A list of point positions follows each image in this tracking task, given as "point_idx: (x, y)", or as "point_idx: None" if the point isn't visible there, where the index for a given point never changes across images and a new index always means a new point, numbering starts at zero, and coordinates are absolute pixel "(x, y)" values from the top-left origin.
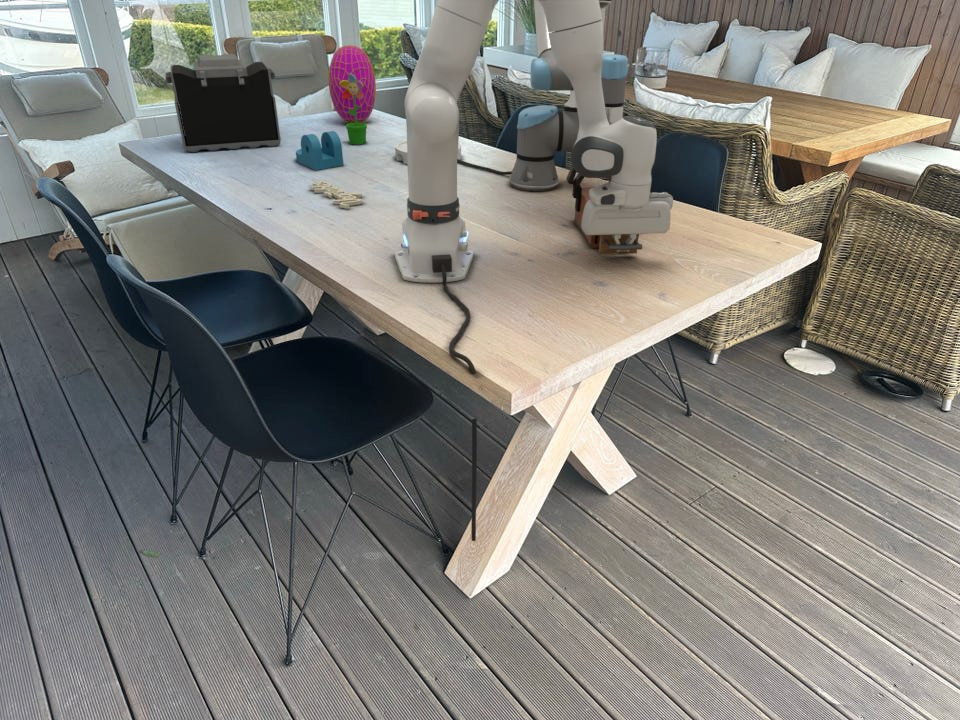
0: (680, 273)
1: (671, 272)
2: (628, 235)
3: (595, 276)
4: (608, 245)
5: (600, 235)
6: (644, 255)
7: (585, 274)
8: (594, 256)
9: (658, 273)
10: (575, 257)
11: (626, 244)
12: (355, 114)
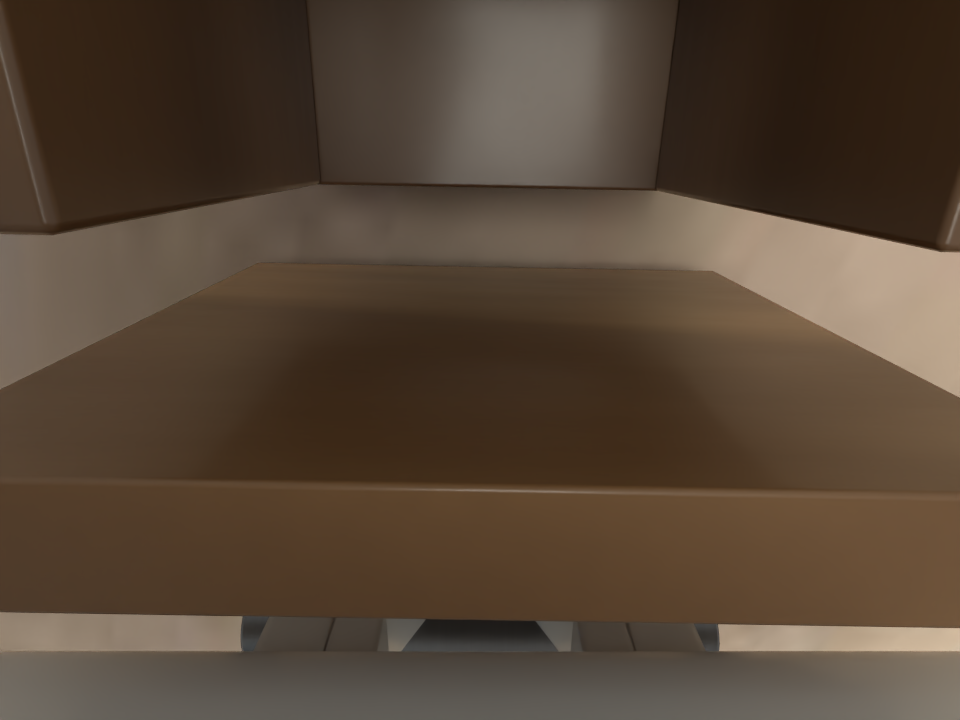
0: (891, 650)
1: (832, 631)
2: (571, 644)
3: (205, 650)
4: (242, 647)
5: (122, 330)
6: (809, 257)
7: (126, 616)
8: (235, 241)
9: (719, 639)
10: (17, 253)
11: (501, 645)
12: None
